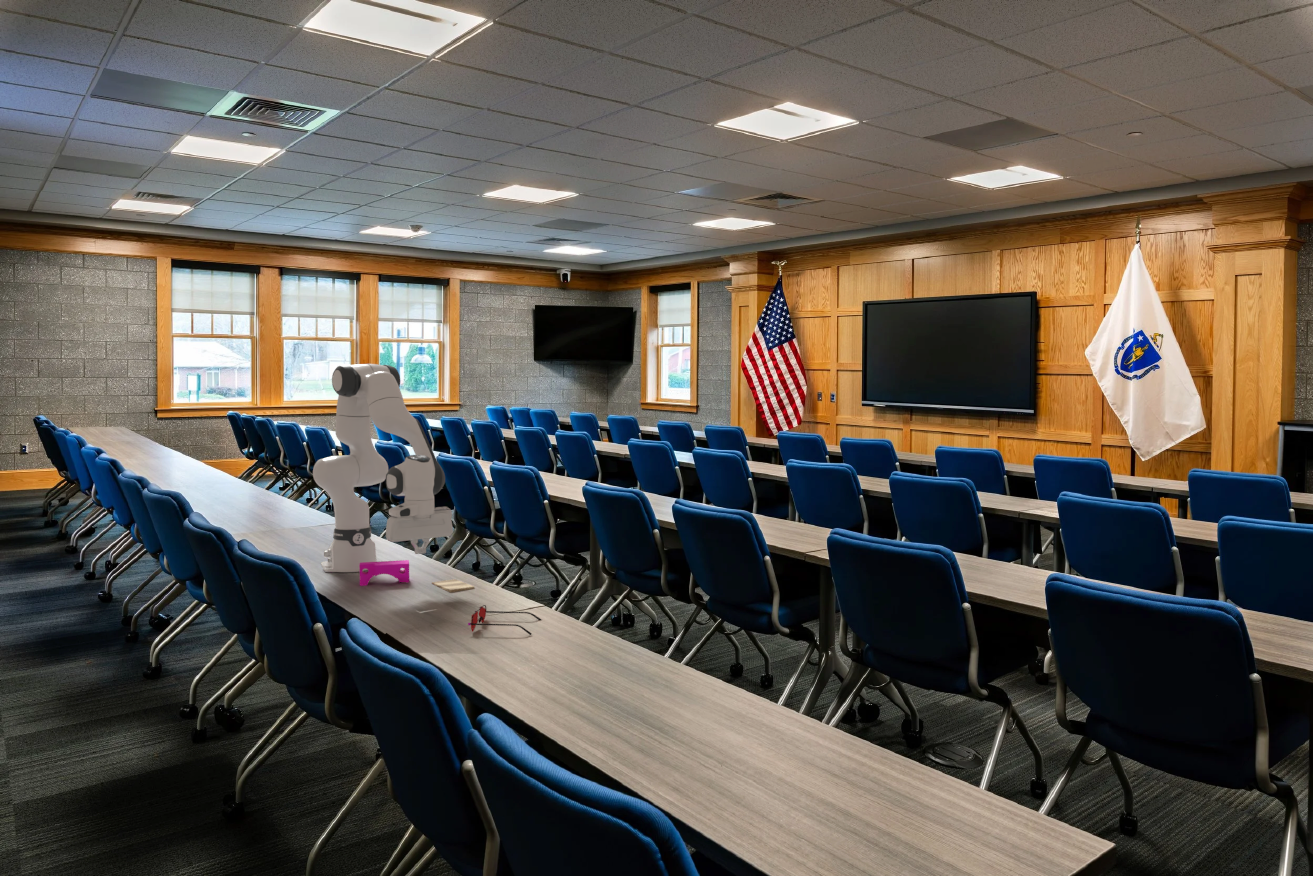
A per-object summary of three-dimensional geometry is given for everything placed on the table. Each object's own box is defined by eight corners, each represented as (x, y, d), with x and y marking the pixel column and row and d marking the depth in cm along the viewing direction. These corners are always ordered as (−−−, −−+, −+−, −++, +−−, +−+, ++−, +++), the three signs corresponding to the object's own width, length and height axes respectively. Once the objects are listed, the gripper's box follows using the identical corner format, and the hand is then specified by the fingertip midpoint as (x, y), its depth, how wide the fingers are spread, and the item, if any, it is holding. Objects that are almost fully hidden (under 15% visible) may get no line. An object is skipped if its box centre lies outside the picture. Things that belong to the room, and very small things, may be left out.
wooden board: (431, 586, 282) (431, 582, 282) (455, 582, 287) (455, 579, 287) (450, 593, 271) (450, 590, 271) (474, 590, 276) (474, 586, 276)
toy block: (409, 563, 281) (409, 587, 282) (408, 560, 287) (409, 583, 288) (359, 566, 277) (359, 590, 278) (359, 562, 283) (360, 585, 284)
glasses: (482, 620, 241) (482, 602, 240) (542, 621, 239) (542, 603, 239) (467, 634, 227) (467, 615, 227) (531, 635, 225) (531, 616, 225)
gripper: (447, 504, 280) (447, 548, 281) (383, 510, 268) (384, 555, 269) (455, 506, 275) (456, 551, 276) (391, 512, 263) (392, 558, 264)
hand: (420, 553), depth 272 cm, fingers closed
